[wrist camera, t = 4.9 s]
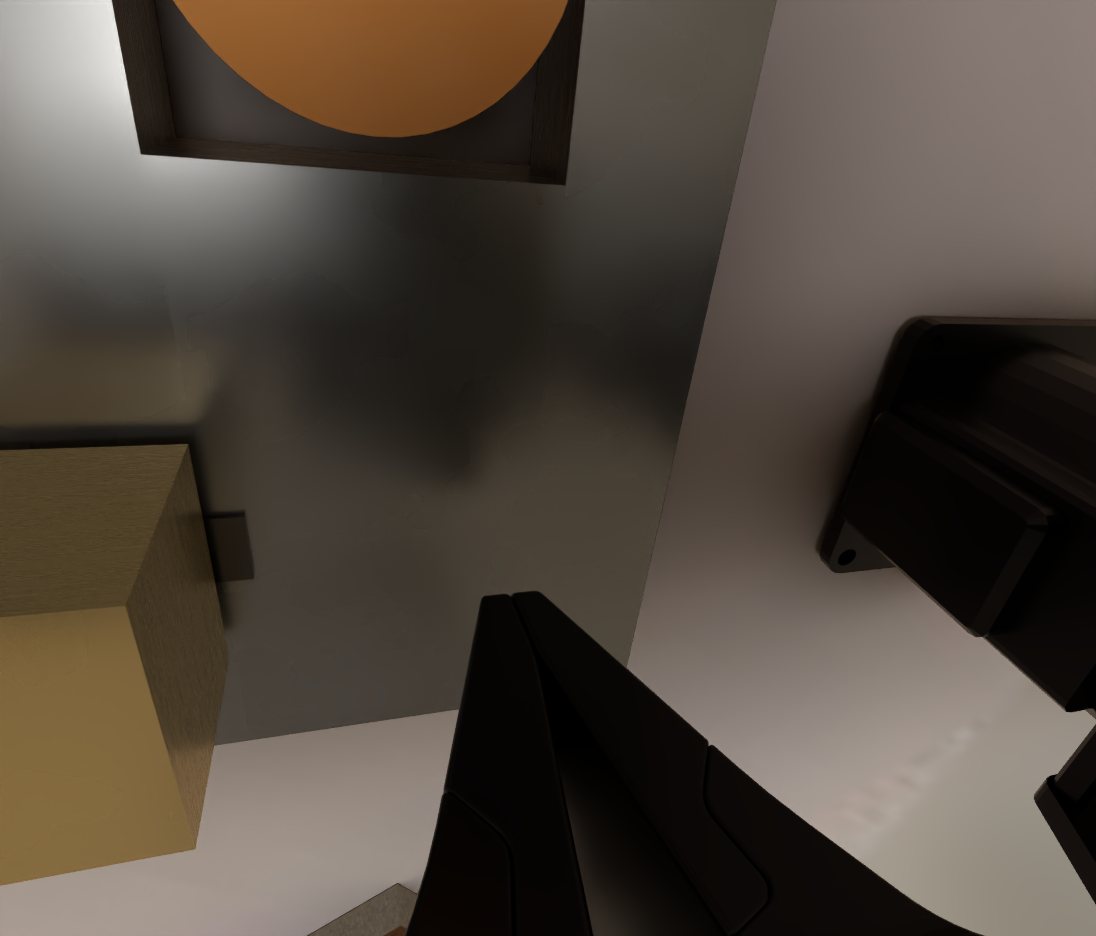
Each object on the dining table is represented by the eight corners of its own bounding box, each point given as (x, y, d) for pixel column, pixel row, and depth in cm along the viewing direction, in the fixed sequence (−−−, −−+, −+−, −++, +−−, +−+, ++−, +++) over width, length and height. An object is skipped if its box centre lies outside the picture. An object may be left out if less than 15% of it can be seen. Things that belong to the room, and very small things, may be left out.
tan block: (188, 444, 9) (124, 605, 6) (229, 658, 11) (195, 848, 8) (-87, 453, 8) (-291, 643, 5) (13, 683, 10) (-101, 904, 7)
